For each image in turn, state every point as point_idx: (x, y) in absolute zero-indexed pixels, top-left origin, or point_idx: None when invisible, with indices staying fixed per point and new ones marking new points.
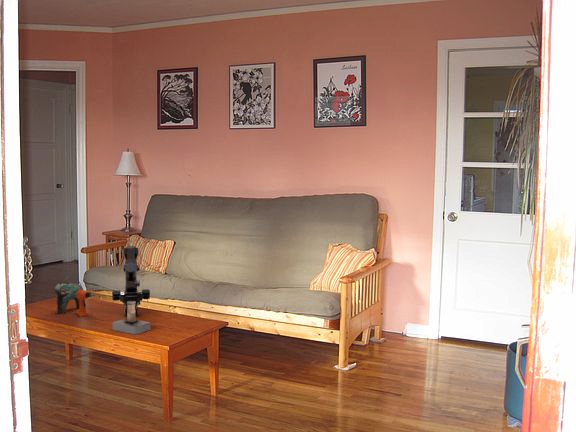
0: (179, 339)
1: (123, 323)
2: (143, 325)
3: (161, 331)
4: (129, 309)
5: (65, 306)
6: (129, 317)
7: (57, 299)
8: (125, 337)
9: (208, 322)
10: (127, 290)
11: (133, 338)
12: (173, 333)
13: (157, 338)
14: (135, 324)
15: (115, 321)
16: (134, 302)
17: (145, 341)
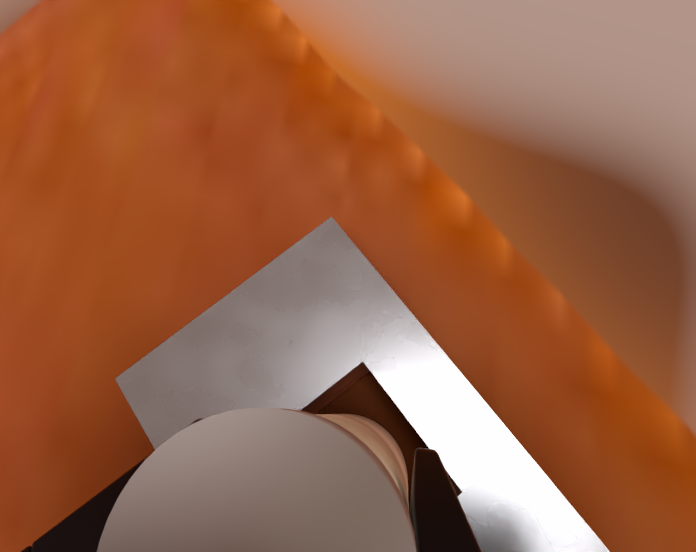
0: (40, 28)
1: (468, 439)
2: (222, 306)
3: (82, 296)
4: (363, 433)
5: None
6: (376, 427)
7: None
8: (448, 182)
9: None
10: None
11: (377, 133)
12: (13, 198)
13: (182, 87)
14: (312, 329)
15: None
16: (165, 446)
17: (292, 30)
